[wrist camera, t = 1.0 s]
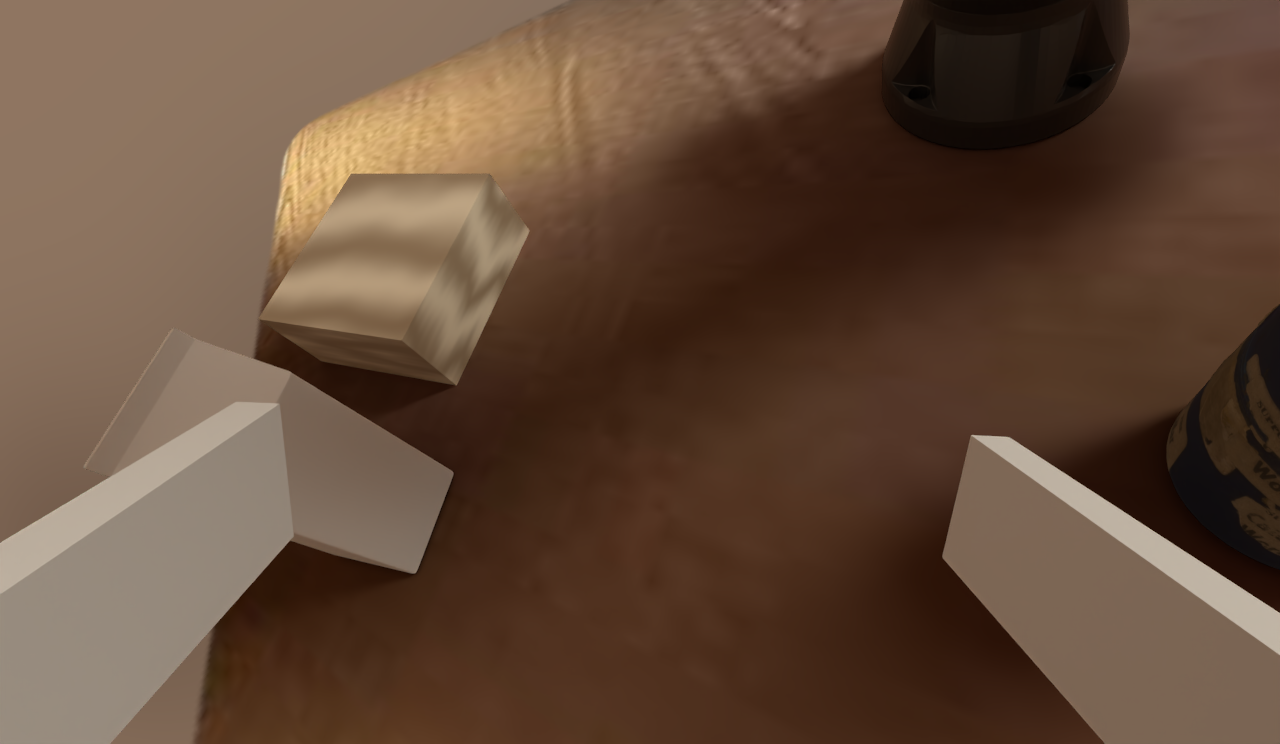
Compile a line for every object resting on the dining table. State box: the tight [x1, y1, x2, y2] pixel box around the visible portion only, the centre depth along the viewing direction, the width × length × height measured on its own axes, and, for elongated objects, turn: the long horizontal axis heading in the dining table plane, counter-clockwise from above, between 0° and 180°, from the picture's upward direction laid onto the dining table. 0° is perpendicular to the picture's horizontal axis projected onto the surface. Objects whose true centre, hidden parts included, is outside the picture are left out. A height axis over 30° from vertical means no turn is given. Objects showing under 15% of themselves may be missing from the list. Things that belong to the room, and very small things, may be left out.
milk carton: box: [84, 328, 454, 574], centre depth 36 cm, size 7×7×19 cm
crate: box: [259, 174, 529, 386], centre depth 51 cm, size 15×15×7 cm
